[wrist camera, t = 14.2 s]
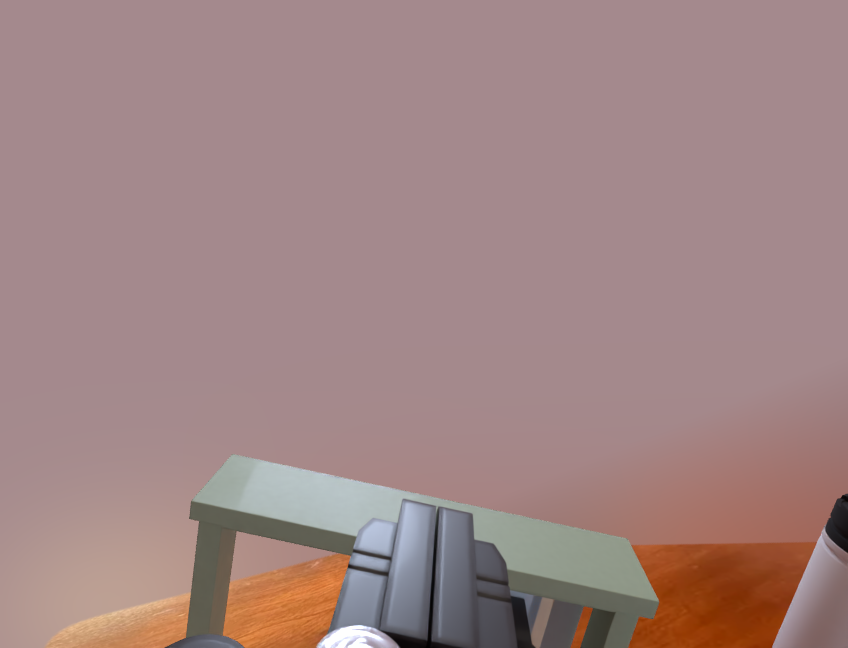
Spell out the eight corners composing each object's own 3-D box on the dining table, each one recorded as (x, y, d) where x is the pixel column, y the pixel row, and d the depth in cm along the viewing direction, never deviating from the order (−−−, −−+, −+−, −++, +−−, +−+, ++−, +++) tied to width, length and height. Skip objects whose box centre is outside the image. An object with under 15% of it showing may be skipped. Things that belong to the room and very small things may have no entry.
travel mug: (847, 828, 34) (988, 559, 29) (733, 748, 38) (841, 499, 33) (848, 759, 39) (968, 519, 34) (747, 695, 43) (842, 471, 38)
